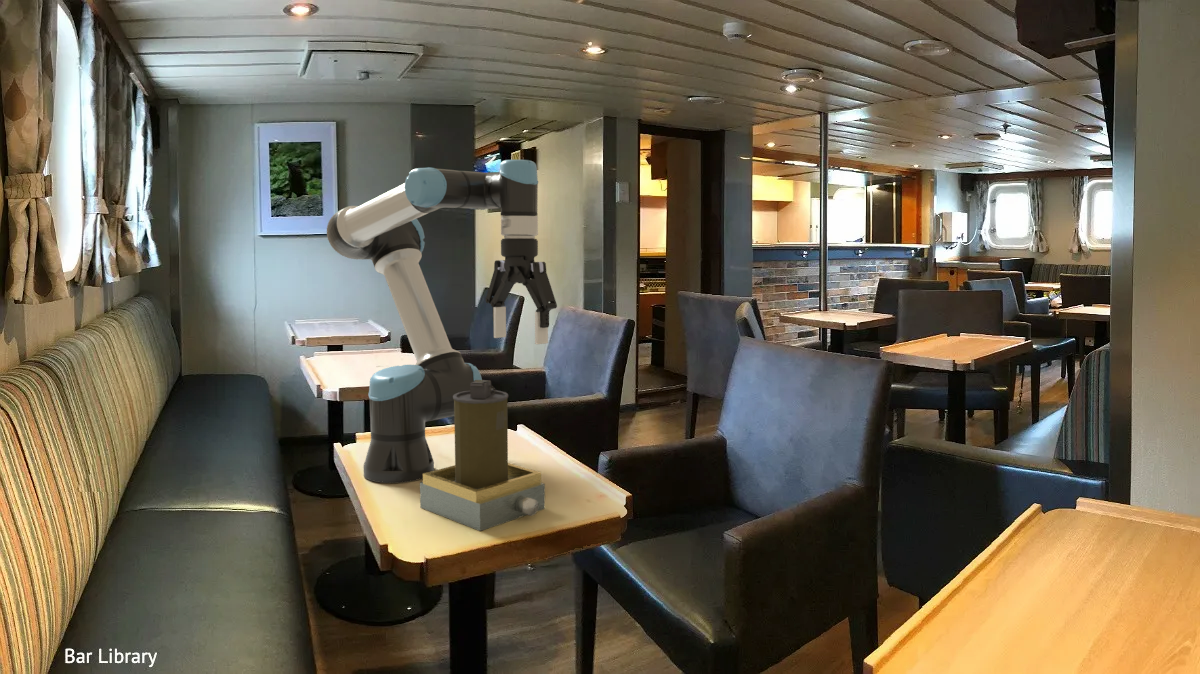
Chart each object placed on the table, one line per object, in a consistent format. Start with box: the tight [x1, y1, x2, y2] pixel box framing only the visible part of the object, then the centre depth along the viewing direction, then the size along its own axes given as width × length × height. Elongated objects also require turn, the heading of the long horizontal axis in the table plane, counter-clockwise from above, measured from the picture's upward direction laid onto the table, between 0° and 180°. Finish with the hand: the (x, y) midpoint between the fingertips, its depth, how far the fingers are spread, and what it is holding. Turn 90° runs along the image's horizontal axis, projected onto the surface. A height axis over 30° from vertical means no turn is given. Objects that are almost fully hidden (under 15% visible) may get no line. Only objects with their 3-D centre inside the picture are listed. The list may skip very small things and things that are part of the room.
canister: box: [453, 379, 509, 489], centre depth 152 cm, size 11×10×20 cm
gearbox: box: [419, 462, 546, 532], centre depth 152 cm, size 21×16×7 cm
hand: (520, 340), depth 165 cm, fingers open, 13 cm apart
